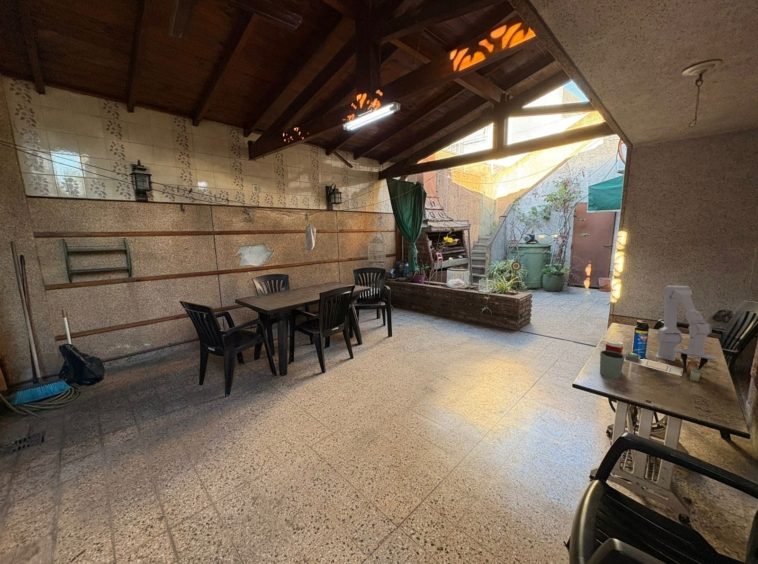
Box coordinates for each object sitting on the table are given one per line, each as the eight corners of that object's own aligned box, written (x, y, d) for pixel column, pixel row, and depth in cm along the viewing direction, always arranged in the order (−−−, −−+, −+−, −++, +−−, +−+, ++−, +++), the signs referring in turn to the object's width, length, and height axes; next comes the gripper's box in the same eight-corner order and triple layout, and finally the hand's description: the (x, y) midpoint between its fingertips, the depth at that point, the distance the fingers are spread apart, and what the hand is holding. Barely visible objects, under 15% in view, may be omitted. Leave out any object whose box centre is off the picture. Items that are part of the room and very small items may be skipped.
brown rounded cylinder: (686, 370, 157) (688, 360, 156) (695, 373, 155) (697, 362, 154) (686, 372, 155) (688, 362, 154) (695, 375, 153) (697, 364, 151)
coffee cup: (624, 371, 158) (628, 345, 155) (607, 369, 160) (610, 344, 157) (615, 364, 166) (618, 339, 163) (598, 362, 168) (602, 338, 165)
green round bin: (611, 381, 148) (615, 359, 146) (592, 371, 157) (595, 351, 155) (626, 378, 150) (629, 356, 148) (606, 369, 160) (609, 349, 158)
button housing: (627, 356, 174) (627, 352, 174) (640, 359, 170) (640, 355, 169) (625, 359, 170) (625, 355, 170) (638, 362, 166) (639, 358, 165)
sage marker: (689, 377, 150) (691, 366, 149) (699, 380, 148) (701, 369, 147) (689, 379, 148) (691, 369, 147) (698, 382, 146) (701, 371, 145)
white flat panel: (626, 355, 177) (627, 354, 176) (683, 369, 159) (683, 368, 159) (622, 361, 169) (622, 360, 169) (681, 376, 151) (681, 375, 151)
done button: (629, 355, 172) (630, 352, 172) (637, 357, 170) (638, 354, 169) (628, 357, 170) (628, 353, 170) (636, 359, 167) (636, 355, 167)
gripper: (676, 343, 155) (671, 366, 157) (717, 351, 144) (712, 376, 147) (677, 339, 159) (673, 362, 162) (717, 347, 149) (712, 372, 151)
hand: (691, 369), depth 154 cm, fingers open, 4 cm apart
